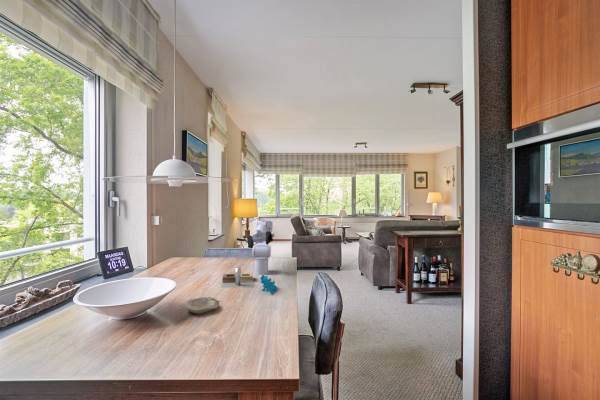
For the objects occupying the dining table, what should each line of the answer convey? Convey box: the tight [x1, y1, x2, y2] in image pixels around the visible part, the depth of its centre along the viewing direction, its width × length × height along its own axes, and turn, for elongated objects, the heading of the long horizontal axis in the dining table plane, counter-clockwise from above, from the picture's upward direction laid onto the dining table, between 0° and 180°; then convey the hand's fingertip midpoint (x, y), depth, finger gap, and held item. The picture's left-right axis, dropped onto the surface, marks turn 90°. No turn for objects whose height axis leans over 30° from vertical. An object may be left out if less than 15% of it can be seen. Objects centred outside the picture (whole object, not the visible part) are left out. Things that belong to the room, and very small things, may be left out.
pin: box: [235, 267, 242, 286], centre depth 142 cm, size 2×2×8 cm
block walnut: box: [222, 273, 236, 283], centre depth 149 cm, size 7×7×2 cm
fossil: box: [185, 296, 220, 315], centre depth 112 cm, size 11×12×3 cm
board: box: [221, 276, 255, 288], centre depth 147 cm, size 16×15×1 cm
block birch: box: [241, 272, 254, 282], centre depth 150 cm, size 7×7×2 cm
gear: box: [259, 275, 279, 295], centre depth 134 cm, size 11×6×10 cm
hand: (258, 244), depth 143 cm, fingers open, 7 cm apart
